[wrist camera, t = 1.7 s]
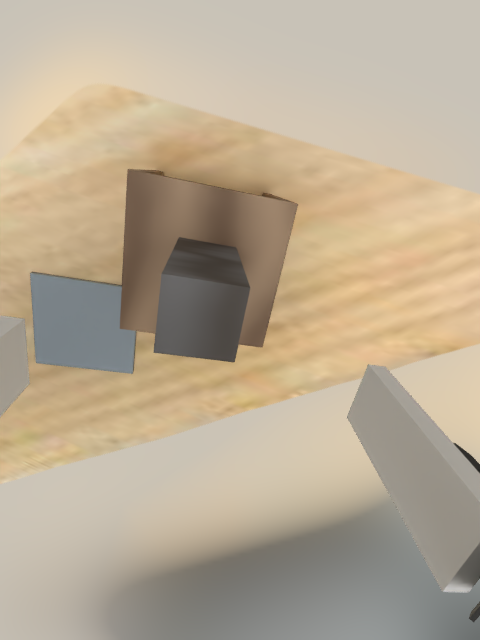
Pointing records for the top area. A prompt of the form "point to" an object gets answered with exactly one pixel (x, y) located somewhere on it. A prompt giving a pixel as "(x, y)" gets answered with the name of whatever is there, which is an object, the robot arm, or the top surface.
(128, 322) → the brown legged piece
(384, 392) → the robot arm
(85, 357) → the mat
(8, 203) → the top surface
